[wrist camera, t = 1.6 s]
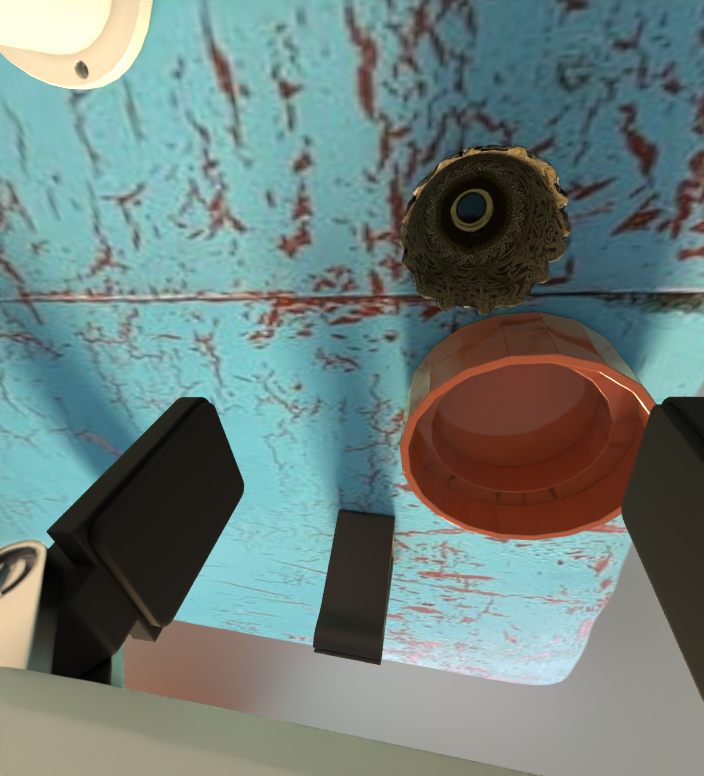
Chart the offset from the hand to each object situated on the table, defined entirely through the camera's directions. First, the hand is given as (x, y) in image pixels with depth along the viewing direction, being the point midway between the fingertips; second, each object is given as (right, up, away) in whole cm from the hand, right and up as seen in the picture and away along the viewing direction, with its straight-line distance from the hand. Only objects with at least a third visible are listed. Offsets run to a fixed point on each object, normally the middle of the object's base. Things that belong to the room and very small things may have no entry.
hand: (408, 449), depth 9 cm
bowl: (+11, 0, +23) cm, 25 cm away
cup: (+6, +13, +16) cm, 21 cm away
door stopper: (0, -15, +36) cm, 39 cm away
